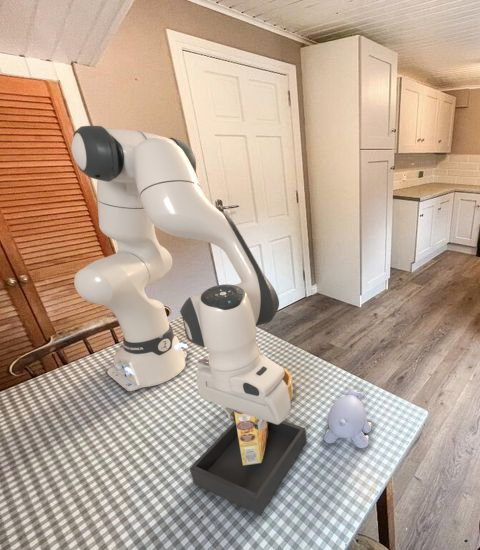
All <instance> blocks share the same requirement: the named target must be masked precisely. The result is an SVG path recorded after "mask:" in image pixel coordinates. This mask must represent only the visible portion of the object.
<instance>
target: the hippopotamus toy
mask: <svg viewBox="0 0 480 550" xmlns="http://www.w3.org/2000/svg"><path fill="white" fill-rule="evenodd" d="M341 394H342V395H343V396H341V397H339V398H337V400H335V401H334V402H333V404H332V405H331V407H330V409H329V412H328V414H327V415H328V416H327V424H328V427H329V429H326V431H325V435H324V437H323V440H324V442H326V443H327V444H334V443H337V441H338V440H339V439H350V440H351V441H352V443H353V444H354V446H356V447H357V448H359V449H365V448H366V447H368V446H369V439H370V436H369V435H365V434H368V433H370V432H371V430H372V424H373V423H372V422H370V421H368V420H367V417H366V416H367V413H366V408H365V405H364V403H363V402H362V401H361V400H362V399H363V397H364V396H365V394H364V393H363V392H362V391H361V389H354V388H349V389H348V391H347V390H342V391H341Z"/></svg>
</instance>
